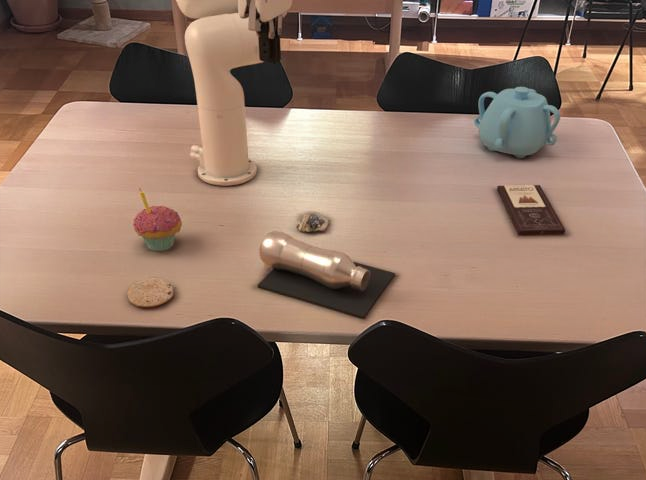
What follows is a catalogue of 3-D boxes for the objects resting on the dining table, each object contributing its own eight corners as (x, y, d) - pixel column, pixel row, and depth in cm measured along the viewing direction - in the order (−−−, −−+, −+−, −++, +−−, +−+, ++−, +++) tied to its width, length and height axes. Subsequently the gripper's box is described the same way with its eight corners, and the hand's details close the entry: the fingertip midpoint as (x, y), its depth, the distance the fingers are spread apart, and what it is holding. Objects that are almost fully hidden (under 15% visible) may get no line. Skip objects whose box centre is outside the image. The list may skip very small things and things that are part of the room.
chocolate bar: (519, 230, 137) (497, 185, 151) (518, 235, 138) (497, 189, 151) (565, 229, 138) (539, 185, 151) (564, 234, 138) (538, 189, 152)
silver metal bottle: (259, 271, 128) (358, 307, 121) (251, 245, 123) (354, 281, 116) (277, 246, 131) (375, 279, 124) (270, 220, 125) (372, 253, 118)
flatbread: (174, 306, 119) (173, 301, 119) (128, 311, 118) (126, 306, 118) (172, 278, 125) (171, 273, 125) (128, 283, 124) (127, 278, 124)
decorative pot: (486, 164, 161) (496, 104, 152) (468, 133, 173) (476, 76, 164) (556, 161, 162) (570, 102, 153) (534, 131, 174) (546, 74, 165)
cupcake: (144, 261, 130) (133, 201, 122) (131, 238, 135) (120, 180, 127) (190, 249, 133) (182, 190, 125) (175, 228, 138) (167, 170, 130)
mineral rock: (298, 236, 137) (297, 227, 135) (291, 215, 143) (291, 206, 141) (332, 233, 138) (333, 224, 136) (325, 212, 144) (325, 204, 142)
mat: (257, 287, 124) (257, 285, 124) (295, 247, 134) (295, 245, 133) (363, 319, 118) (363, 316, 118) (395, 275, 127) (395, 272, 127)
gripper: (267, -77, 114) (272, 44, 126) (216, -59, 103) (227, 71, 115) (309, -72, 111) (310, 51, 123) (261, -53, 101) (268, 79, 113)
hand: (270, 60), depth 119 cm, fingers closed
